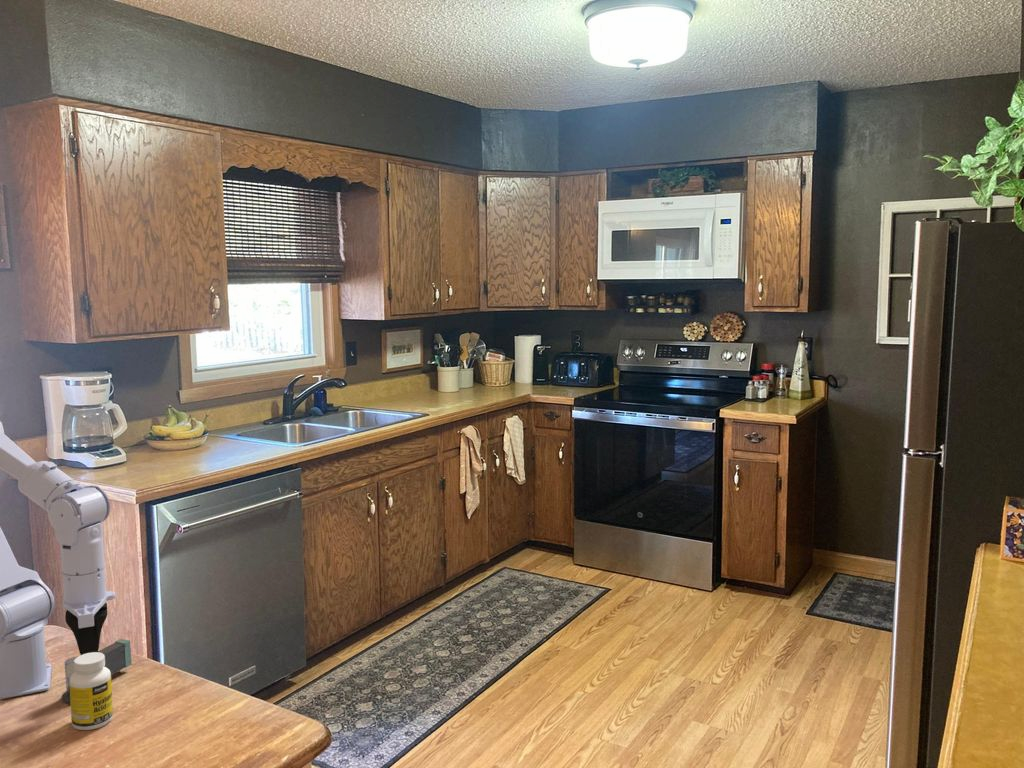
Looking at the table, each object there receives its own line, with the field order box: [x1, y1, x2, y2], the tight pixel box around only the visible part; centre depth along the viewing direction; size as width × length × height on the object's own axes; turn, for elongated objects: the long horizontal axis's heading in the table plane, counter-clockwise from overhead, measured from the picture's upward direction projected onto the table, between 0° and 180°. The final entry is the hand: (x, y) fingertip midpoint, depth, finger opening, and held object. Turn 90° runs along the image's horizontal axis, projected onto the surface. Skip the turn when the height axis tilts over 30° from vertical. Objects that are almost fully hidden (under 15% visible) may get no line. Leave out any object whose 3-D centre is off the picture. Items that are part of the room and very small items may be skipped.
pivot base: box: [61, 690, 71, 705], centre depth 130 cm, size 4×4×1 cm
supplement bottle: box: [69, 652, 114, 731], centre depth 122 cm, size 5×5×10 cm
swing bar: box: [64, 638, 133, 696], centre depth 133 cm, size 11×3×5 cm, turn 160°
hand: (89, 655), depth 127 cm, fingers closed
